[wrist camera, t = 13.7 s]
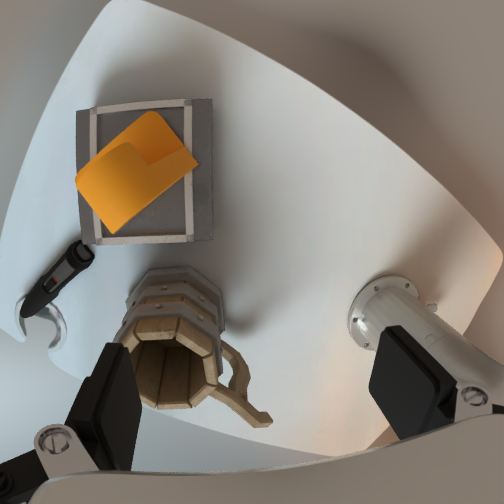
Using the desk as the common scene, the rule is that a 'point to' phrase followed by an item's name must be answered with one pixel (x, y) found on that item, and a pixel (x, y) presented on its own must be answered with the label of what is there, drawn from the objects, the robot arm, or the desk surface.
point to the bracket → (133, 170)
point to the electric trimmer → (57, 278)
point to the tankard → (183, 344)
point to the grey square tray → (170, 201)
